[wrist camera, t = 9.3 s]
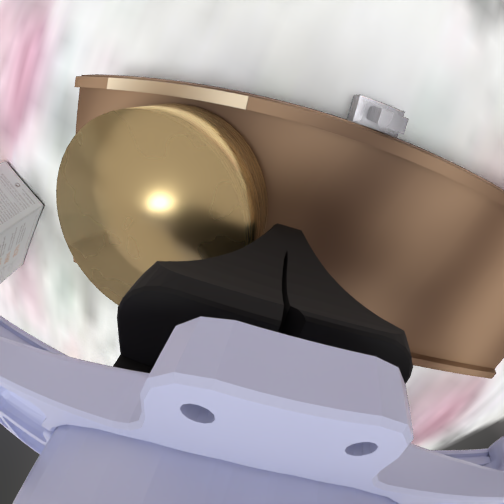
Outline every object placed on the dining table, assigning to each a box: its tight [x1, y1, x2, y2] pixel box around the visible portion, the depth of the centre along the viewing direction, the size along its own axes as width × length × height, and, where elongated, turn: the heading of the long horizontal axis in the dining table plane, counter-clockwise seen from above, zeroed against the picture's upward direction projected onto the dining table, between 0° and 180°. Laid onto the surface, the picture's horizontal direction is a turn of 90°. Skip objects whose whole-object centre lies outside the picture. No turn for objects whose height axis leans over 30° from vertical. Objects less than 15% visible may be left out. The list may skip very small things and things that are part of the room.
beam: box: [73, 74, 504, 379], centre depth 13 cm, size 26×10×2 cm, turn 77°
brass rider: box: [56, 103, 268, 305], centre depth 12 cm, size 8×8×3 cm
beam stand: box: [347, 95, 408, 138], centre depth 14 cm, size 2×12×4 cm, turn 167°
